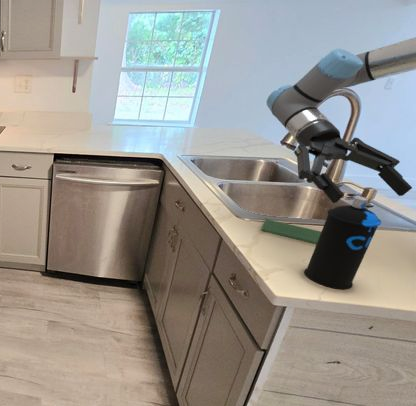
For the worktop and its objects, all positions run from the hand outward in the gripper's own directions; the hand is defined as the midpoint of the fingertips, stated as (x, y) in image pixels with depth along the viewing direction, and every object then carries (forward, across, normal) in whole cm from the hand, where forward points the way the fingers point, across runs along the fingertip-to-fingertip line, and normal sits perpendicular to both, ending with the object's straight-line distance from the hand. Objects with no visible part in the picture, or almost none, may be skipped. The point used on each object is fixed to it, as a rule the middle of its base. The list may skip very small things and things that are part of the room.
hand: (372, 195), depth 79 cm
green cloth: (-7, 0, -25) cm, 26 cm away
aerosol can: (+12, +8, -14) cm, 20 cm away
